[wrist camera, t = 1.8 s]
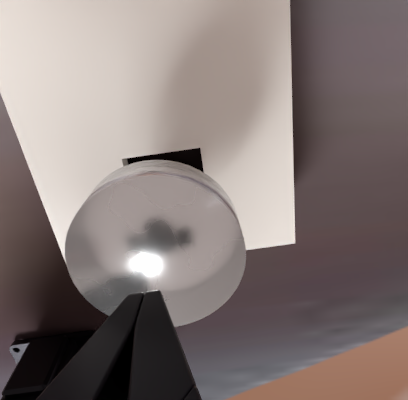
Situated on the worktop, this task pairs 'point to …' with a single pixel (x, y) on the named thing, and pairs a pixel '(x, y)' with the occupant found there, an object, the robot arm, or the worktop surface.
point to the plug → (157, 240)
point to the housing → (154, 98)
